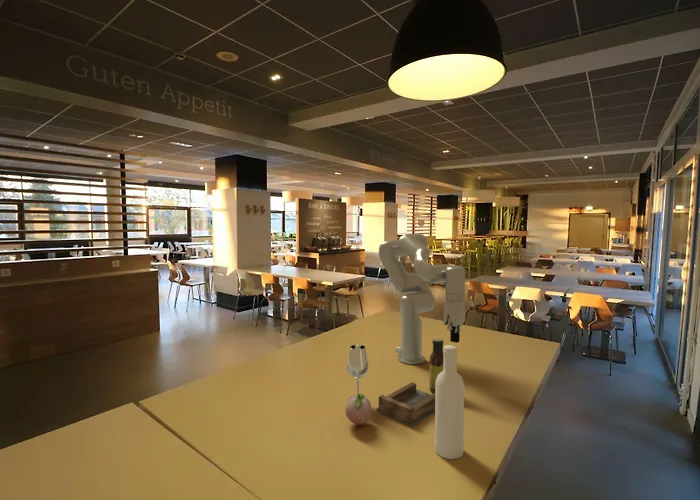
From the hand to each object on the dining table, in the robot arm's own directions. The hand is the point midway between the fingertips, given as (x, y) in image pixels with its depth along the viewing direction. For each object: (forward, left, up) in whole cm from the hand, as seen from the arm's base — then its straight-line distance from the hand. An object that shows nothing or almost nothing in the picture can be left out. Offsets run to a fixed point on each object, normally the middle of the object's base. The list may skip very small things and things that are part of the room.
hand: (454, 341), depth 151 cm
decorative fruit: (-6, -52, -17) cm, 55 cm away
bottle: (+22, -45, -17) cm, 53 cm away
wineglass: (-17, -40, -17) cm, 47 cm away
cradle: (0, -30, -16) cm, 34 cm away
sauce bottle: (0, -13, -17) cm, 21 cm away
